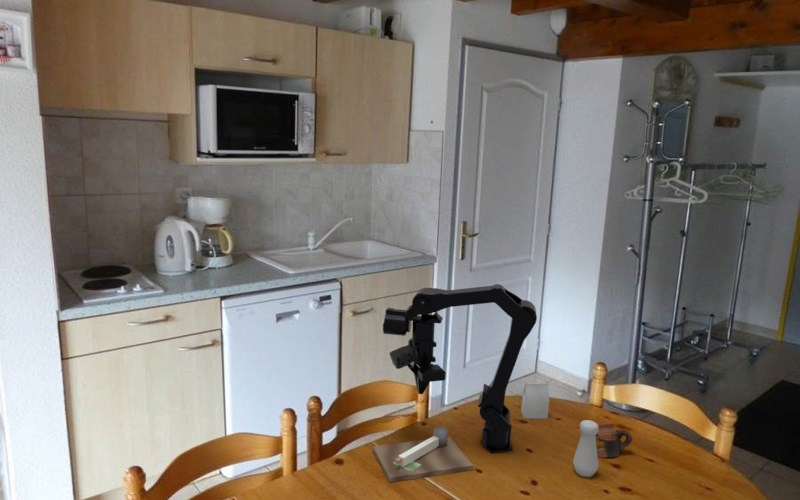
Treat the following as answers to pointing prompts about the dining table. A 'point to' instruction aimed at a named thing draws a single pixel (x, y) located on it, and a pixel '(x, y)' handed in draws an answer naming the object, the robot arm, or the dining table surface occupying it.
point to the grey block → (535, 401)
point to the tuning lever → (423, 447)
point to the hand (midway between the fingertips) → (420, 393)
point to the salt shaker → (587, 450)
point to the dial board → (421, 461)
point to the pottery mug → (612, 440)
